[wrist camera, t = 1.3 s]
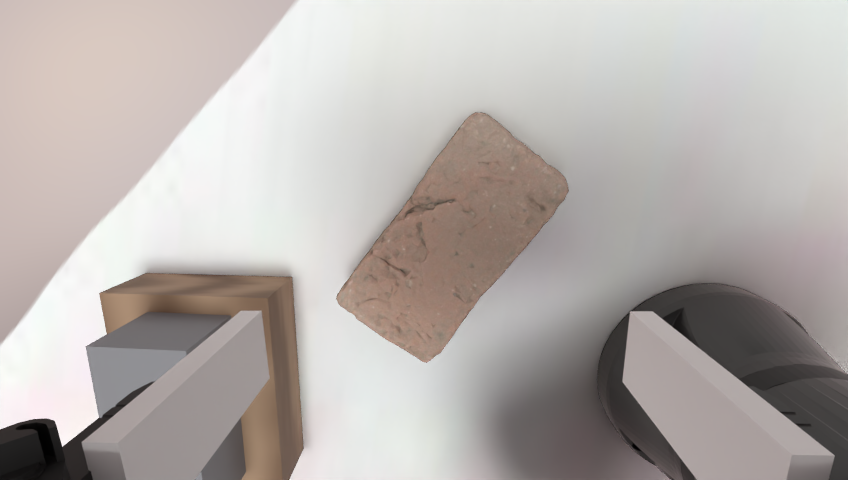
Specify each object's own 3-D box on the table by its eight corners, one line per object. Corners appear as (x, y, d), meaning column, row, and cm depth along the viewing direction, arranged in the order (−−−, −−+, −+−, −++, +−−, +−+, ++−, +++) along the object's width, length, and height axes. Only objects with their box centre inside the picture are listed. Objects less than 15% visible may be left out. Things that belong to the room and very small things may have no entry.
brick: (472, 108, 29) (477, 101, 24) (562, 178, 29) (584, 184, 25) (345, 282, 32) (329, 305, 28) (429, 340, 33) (426, 372, 28)
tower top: (231, 315, 28) (186, 350, 23) (246, 471, 31) (209, 532, 26) (147, 311, 28) (85, 346, 23) (170, 467, 31) (119, 527, 26)
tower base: (294, 275, 32) (267, 298, 27) (305, 444, 36) (283, 491, 31) (150, 271, 33) (99, 293, 28) (175, 438, 36) (134, 483, 32)
